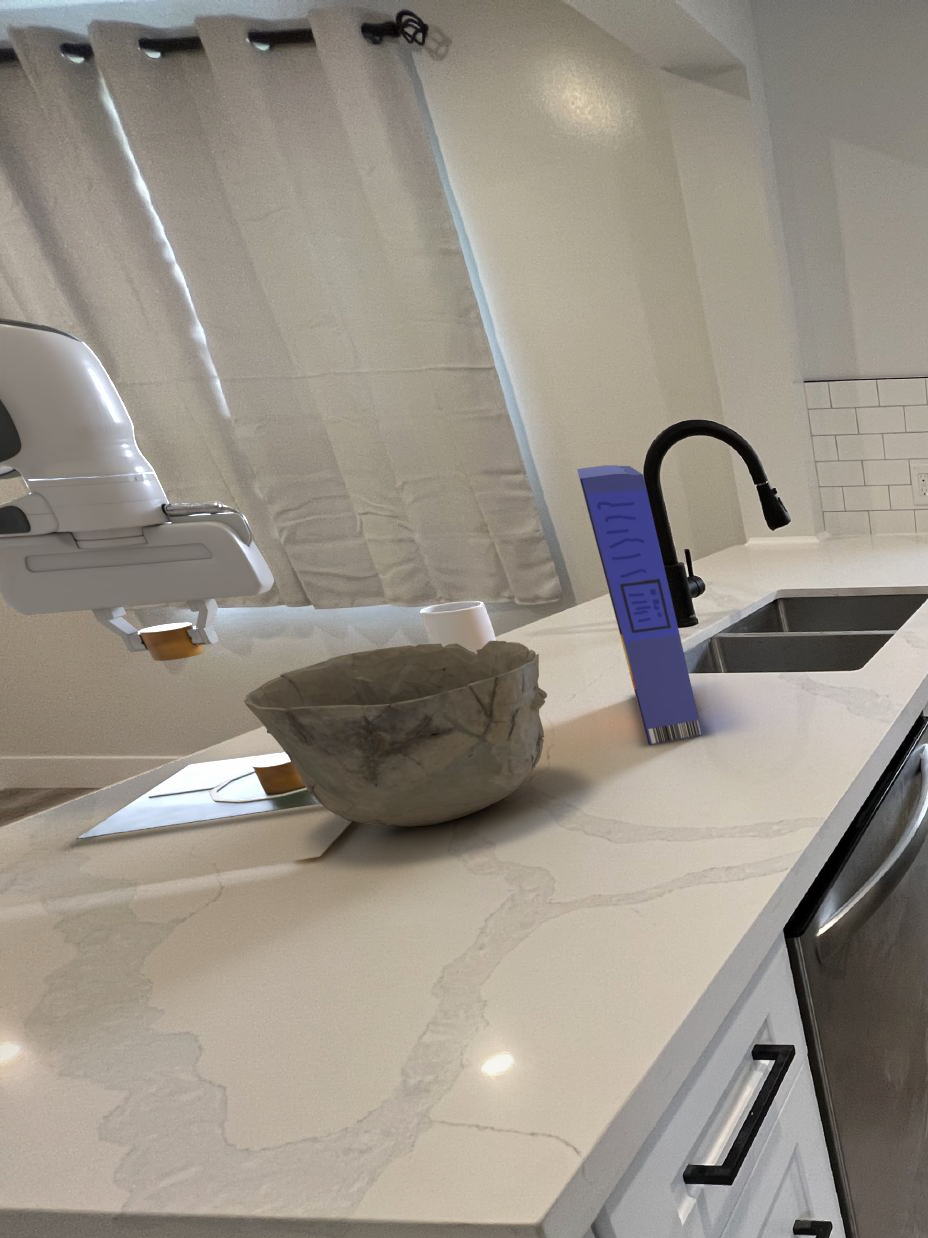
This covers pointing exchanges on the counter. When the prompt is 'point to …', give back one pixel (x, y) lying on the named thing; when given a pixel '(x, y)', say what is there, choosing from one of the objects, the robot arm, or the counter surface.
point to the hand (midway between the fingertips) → (175, 647)
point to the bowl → (409, 729)
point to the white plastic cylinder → (459, 624)
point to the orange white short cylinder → (277, 774)
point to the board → (202, 798)
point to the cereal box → (641, 600)
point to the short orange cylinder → (170, 642)
